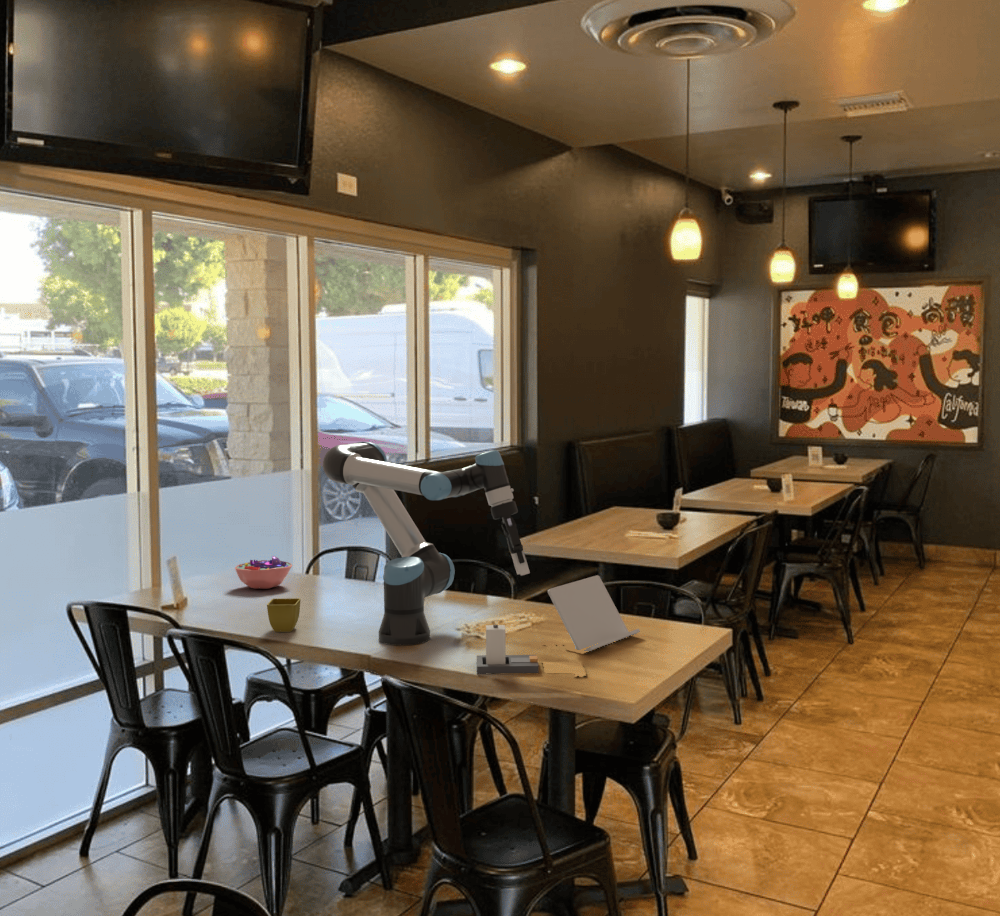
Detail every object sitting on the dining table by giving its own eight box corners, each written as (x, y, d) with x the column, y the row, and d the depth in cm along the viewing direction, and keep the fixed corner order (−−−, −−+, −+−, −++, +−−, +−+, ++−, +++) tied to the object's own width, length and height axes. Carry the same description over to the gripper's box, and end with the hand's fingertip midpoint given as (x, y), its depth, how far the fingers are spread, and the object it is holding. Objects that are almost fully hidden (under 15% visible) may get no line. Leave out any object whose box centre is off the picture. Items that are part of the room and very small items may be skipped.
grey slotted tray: (477, 677, 274) (476, 663, 274) (476, 666, 284) (476, 652, 284) (538, 677, 275) (538, 662, 274) (536, 665, 285) (536, 651, 284)
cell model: (235, 584, 384) (234, 553, 383) (291, 581, 389) (290, 551, 388) (235, 594, 368) (234, 562, 367) (293, 591, 373) (293, 559, 372)
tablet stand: (540, 645, 304) (541, 587, 303) (590, 628, 324) (591, 573, 322) (592, 657, 293) (593, 597, 291) (641, 638, 312) (641, 581, 310)
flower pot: (273, 626, 325) (272, 597, 324) (301, 626, 326) (300, 597, 325) (267, 634, 317) (266, 604, 316) (296, 634, 317) (295, 604, 316)
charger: (486, 670, 277) (486, 627, 276) (486, 665, 281) (485, 623, 280) (505, 670, 277) (505, 627, 276) (504, 665, 281) (504, 622, 280)
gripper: (517, 497, 294) (540, 570, 292) (511, 501, 319) (532, 569, 317) (491, 505, 293) (514, 578, 292) (487, 508, 318) (508, 576, 317)
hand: (523, 574), depth 304 cm, fingers open, 13 cm apart
